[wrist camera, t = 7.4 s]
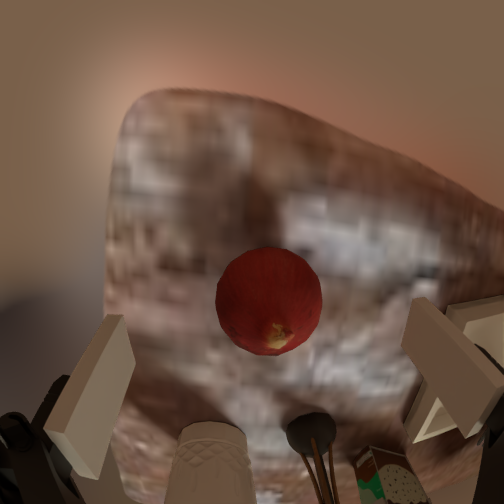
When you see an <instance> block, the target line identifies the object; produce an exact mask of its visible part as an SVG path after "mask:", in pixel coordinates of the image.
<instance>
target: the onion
mask: <svg viewBox="0 0 504 504" xmlns="http://www.w3.org/2000/svg"><path fill="white" fill-rule="evenodd" d="M215 304H216V311H217V315H218V318H219V322H220V325H221V327H222V329H223V330H224V332H225V333H226V334H227V335H228V336H229V337H230V339H231V340H232V341H233V342H234V343H235V345H237V346H238V347H240V348H242V349H245V350H247V351H249V352H251V353H253V354H256V355H268V356H278V355H280V354H283V353H285V352H288V351H290V350H293V349H294V348H296V347H297V346H299V345H300V344H302V343H303V342H305V341H306V340H307V339H308V338H309V337H310V335H311V334H312V332H313V331H314V330H315V328H316V327H317V325H318V322H319V318H320V314H321V309H322V293H321V286H320V282H319V279H318V276H317V275H316V274H315V272H314V271H313V270H312V268H311V267H310V266H309V264H308V263H307V262H306V261H305V260H304V259H303V258H302V257H300V256H298V255H296V254H294V253H293V252H291V251H289V250H287V249H281V248H273V247H264V248H259V249H254V250H250V251H247V252H245V253H244V254H242V255H241V256H239V257H238V258H236V259H235V260H233V261H232V262H231V263H230V264H229V265H228V266H227V268H226V270H225V272H224V273H223V275H222V277H221V278H220V280H219V282H218V283H217V291H216V300H215Z"/></svg>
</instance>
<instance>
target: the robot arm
mask: <svg viewBox="0 0 504 504" xmlns="http://www.w3.org/2000/svg"><path fill="white" fill-rule="evenodd" d="M401 347H402V348H403V349H404V351H405V352H406V354H407V355H408V356H409V358H410V359H411V360H412V362H413V363H414V364H415V366H416V367H417V369H418V370H419V371H420V373H421V374H422V376H423V377H424V378H425V380H426V381H427V383H428V384H429V386H430V387H431V388H432V390H433V391H434V393H435V394H436V396H437V397H438V399H439V400H440V401H441V403H442V404H443V406H444V407H445V409H446V410H447V412H448V413H449V415H450V416H451V418H452V419H453V421H454V422H455V424H456V425H457V427H458V428H459V430H460V432H461V433H462V435H463V436H464V438H465V439H466V438H468V437H470V436H472V435H474V434H476V433H478V432H479V431H480V429H481V428H482V426H483V425H484V423H485V422H486V424H487V425H488V428H487V430H486V431H485V432H484V434H483V435H482V437H481V438H480V439H479V441H478V443H477V445H480V443H481V442H482V441H483V439H484V443H483V445H482V446H483V453H482V459H481V465H480V470H479V476H478V481H477V485H476V490H475V494H474V498H473V502H472V504H504V368H503V367H502V366H501V365H500V364H499V363H497V361H496V360H495V359H494V358H493V357H491V355H490V354H489V353H488V352H487V351H486V350H485V349H484V348H482V347H481V346H479V345H477V344H473V343H472V342H471V341H470V340H469V339H468V338H467V337H466V336H465V335H464V334H463V333H462V332H461V331H460V330H459V329H458V328H457V327H456V326H455V325H454V324H453V323H452V322H451V321H450V320H449V319H448V318H447V317H446V316H445V315H444V314H443V313H442V312H441V311H439V310H438V309H437V308H436V307H435V306H434V305H433V304H432V303H431V302H430V301H429V300H428V299H427V298H425V297H422V298H414V299H412V304H411V308H410V312H409V316H408V321H407V324H406V328H405V332H404V336H403V339H402V343H401ZM135 365H136V362H135V358H134V355H133V351H132V348H131V344H130V340H129V337H128V333H127V329H126V325H125V321H124V317H123V315H109V314H107V316H106V318H105V319H104V321H103V322H102V324H101V326H100V327H99V329H98V330H97V332H96V334H95V335H94V337H93V339H92V340H91V342H90V344H89V345H88V347H87V349H86V350H85V352H84V354H83V355H82V357H81V359H80V360H79V362H78V364H77V366H76V367H75V369H74V371H73V373H72V374H71V376H69V375H62V376H61V377H59V378H58V379H57V380H56V381H55V382H54V383H53V384H52V386H51V388H50V390H49V391H48V394H47V395H46V397H45V398H44V402H42V404H41V405H40V407H39V409H38V411H37V413H36V414H35V416H34V418H33V420H32V422H31V424H30V423H29V421H28V420H27V418H26V417H25V416H24V415H23V414H21V413H19V412H9V413H6V414H5V415H3V416H1V417H0V504H86V503H85V501H84V499H83V498H82V496H81V494H80V492H79V490H78V488H77V486H76V484H75V482H74V480H73V478H72V477H71V476H70V473H71V470H72V467H73V469H74V470H75V471H76V472H77V473H78V475H79V476H83V477H87V478H91V479H96V480H98V479H99V476H100V472H101V469H102V465H103V462H104V458H105V455H106V452H107V449H108V445H109V442H110V439H111V436H112V432H113V429H114V426H115V423H116V420H117V417H118V414H119V411H120V408H121V405H122V402H123V399H124V396H125V393H126V390H127V388H128V385H129V382H130V379H131V376H132V373H133V371H134V368H135Z"/></svg>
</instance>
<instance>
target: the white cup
mask: <svg viewBox="0 0 504 504" xmlns="http://www.w3.org/2000/svg"><path fill="white" fill-rule="evenodd" d="M164 504H257V501H256V493H255V485H254V480H253V473H252V467H251V461H250V459H249V454H248V447H247V438H246V436H245V435H244V434H243V433H242V432H241V431H240V430H239V429H238V428H236V427H233V426H231V425H228V424H226V423H220V422H212V421H206V422H198V423H193V424H191V425H189V426H187V427H185V428H183V430H182V431H181V433H180V435H179V437H178V442H177V447H176V452H175V454H174V457H173V462H172V467H171V471H170V475H169V479H168V485H167V490H166V495H165V501H164Z"/></svg>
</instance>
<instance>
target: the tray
mask: <svg viewBox="0 0 504 504" xmlns="http://www.w3.org/2000/svg"><path fill="white" fill-rule="evenodd" d="M445 316H446V317H447V318H448V319H449V320H450V321H451V322H452V323H453V324H454V325H455V326H456V327H457V328H458V329H459V330H460V331H461V332H462V333H463V334H464V335H465V336H466V337H467V338H468V339H469V340H470V341H471V342H472V343H473V344H477V345H479V346H481V347H482V348H484V349H485V350H486V351H487V352H488V353H489V354H490V355H491V357H493V358H494V359H495V360H496V361H497V363H499V364H500V365H501V366H502V367H503V368H504V295H499V296H494V297H490V298H484V299H479V300H474V301H469V302H463V303H457V304H451V305H448V306H447V310H446V314H445ZM403 426H404V428H405V430H406V432H407V434H408V436H409V437H410V439H411V441H412V443H416V442H419V441H422V440H425V439H427V438H430V437H433V436H436V435H438V434H441V433H444V432H446V431H449V430H451V429H454V428H456V427H457V425H456V424H455V422H454V421H453V419H452V418H451V416H450V415H449V413H448V412H447V410H446V409H445V407H444V406H443V404H442V403H441V401H440V400H439V399H438V397H437V396H436V394H435V393H434V391H433V390H432V388H431V387H430V386H429V384H428V383H427V381H426V380H425V378H424V379H423V381H422V384H421V386H420V389H419V391H418V394H417V396H416V398H415V401H414V403H413V405H412V407H411V410H410V412H409V414H408V416H407V418H406V420H405V422H404V424H403Z"/></svg>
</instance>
